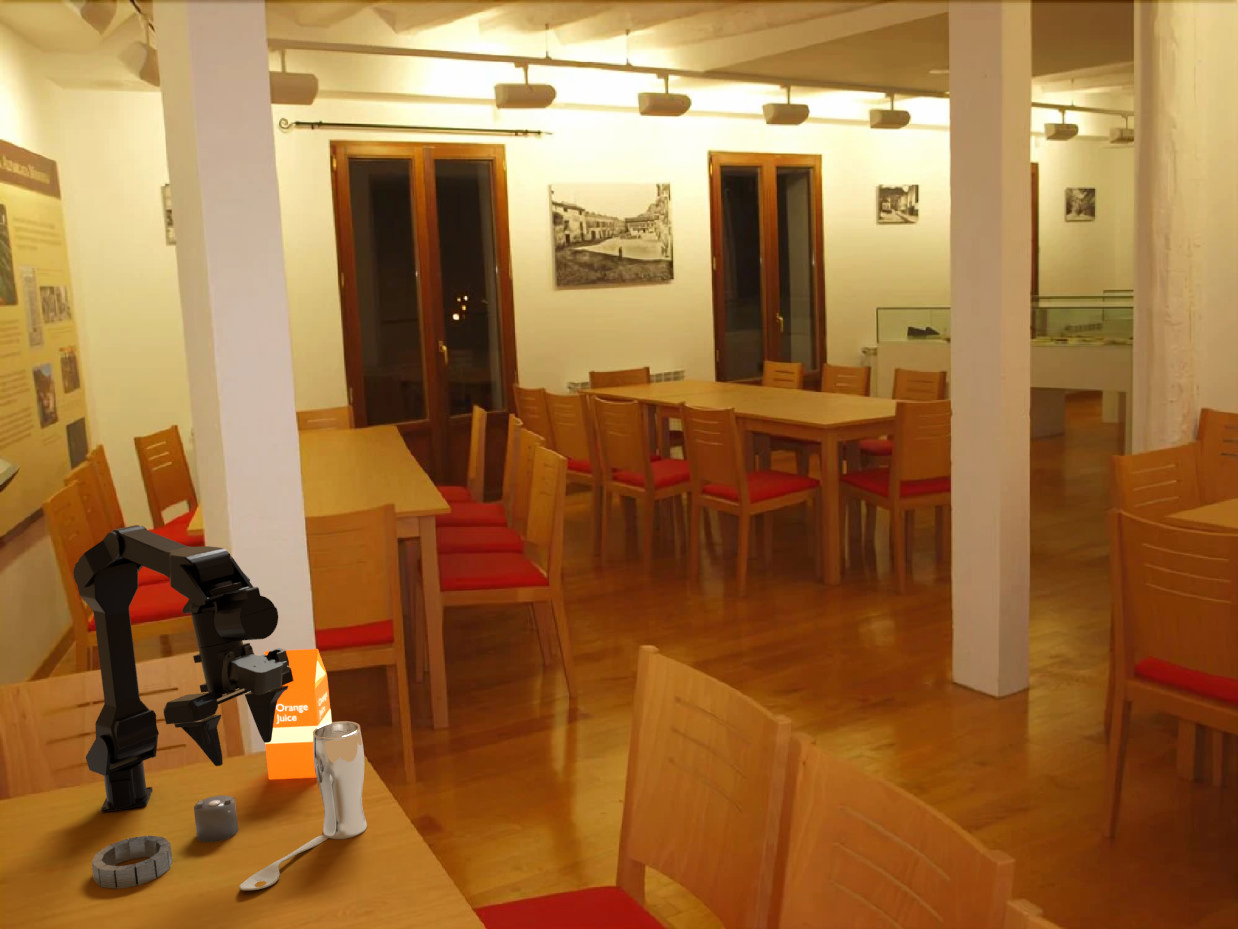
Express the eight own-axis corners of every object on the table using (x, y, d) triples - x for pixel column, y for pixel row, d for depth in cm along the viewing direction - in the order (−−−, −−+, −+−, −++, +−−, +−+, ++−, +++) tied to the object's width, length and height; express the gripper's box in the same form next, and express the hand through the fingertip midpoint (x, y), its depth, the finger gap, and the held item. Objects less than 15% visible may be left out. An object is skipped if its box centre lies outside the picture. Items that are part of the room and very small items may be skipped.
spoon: (230, 898, 149) (229, 886, 149) (326, 827, 168) (324, 816, 168) (256, 902, 147) (255, 890, 147) (350, 830, 166) (349, 819, 166)
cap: (199, 828, 169) (196, 795, 168) (239, 822, 170) (236, 790, 169) (194, 845, 163) (191, 811, 162) (236, 839, 164) (232, 806, 164)
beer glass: (357, 842, 161) (348, 739, 159) (311, 840, 163) (302, 738, 161) (377, 819, 168) (369, 721, 166) (333, 817, 170) (324, 719, 167)
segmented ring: (103, 859, 160) (100, 842, 160) (176, 848, 162) (174, 831, 162) (87, 893, 151) (85, 875, 151) (165, 881, 153) (163, 863, 153)
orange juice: (323, 777, 184) (311, 656, 181) (267, 780, 184) (255, 659, 181) (335, 757, 192) (324, 641, 189) (282, 760, 192) (271, 643, 189)
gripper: (211, 655, 145) (237, 776, 146) (311, 619, 162) (334, 728, 163) (149, 662, 150) (175, 779, 151) (252, 627, 167) (274, 732, 167)
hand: (244, 753), depth 158 cm, fingers open, 9 cm apart
